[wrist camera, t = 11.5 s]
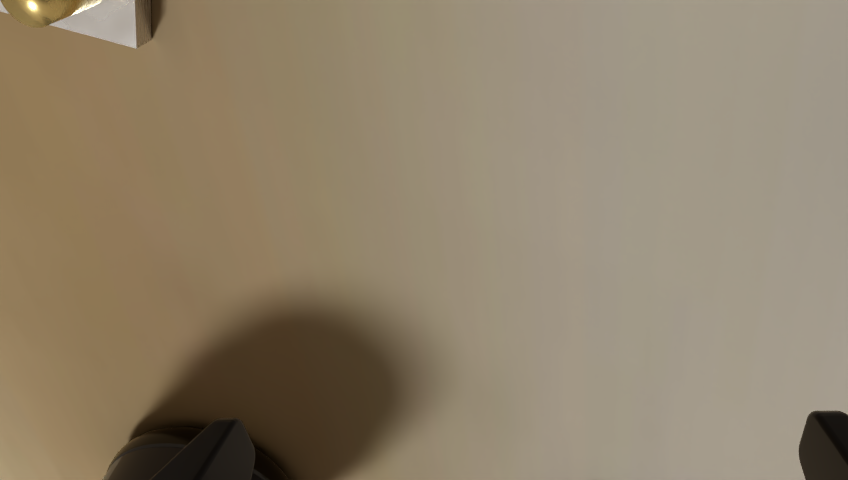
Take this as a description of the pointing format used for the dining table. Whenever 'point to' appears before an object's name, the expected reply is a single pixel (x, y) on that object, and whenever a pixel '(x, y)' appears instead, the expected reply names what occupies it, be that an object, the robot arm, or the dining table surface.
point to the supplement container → (171, 456)
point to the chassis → (88, 17)
